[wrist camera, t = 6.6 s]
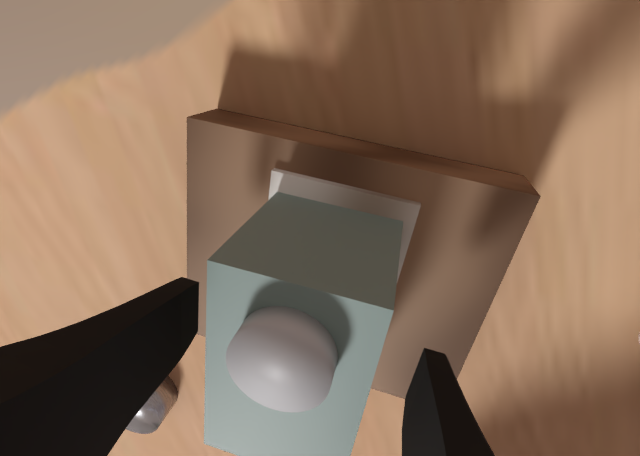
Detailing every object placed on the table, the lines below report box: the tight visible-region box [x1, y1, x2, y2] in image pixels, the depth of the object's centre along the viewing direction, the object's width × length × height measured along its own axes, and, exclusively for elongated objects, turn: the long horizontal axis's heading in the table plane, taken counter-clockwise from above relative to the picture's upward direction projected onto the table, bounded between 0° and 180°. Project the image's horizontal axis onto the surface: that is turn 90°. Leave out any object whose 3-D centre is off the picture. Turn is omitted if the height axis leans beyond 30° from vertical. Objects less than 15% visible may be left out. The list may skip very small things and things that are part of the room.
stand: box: [187, 109, 540, 399], centre depth 16 cm, size 12×10×2 cm
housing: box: [204, 192, 403, 456], centre depth 12 cm, size 7×4×6 cm, turn 171°
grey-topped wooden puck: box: [126, 376, 178, 434], centre depth 23 cm, size 4×4×2 cm
